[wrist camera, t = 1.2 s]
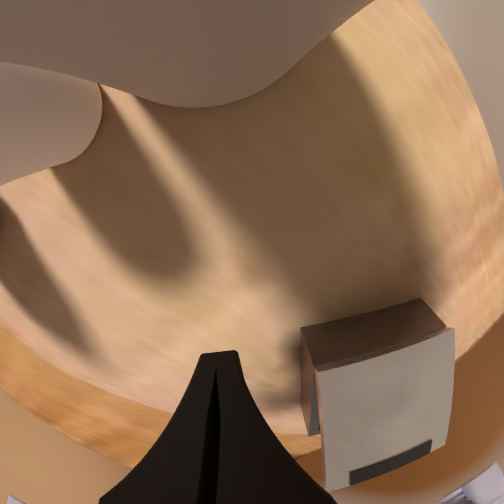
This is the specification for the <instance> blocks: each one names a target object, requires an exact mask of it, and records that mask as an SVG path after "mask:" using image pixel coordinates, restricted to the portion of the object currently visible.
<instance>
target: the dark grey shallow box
mask: <svg viewBox="0 0 504 504" xmlns="http://www.w3.org/2000/svg"><path fill="white" fill-rule="evenodd" d="M444 328H446V325H445V324H444V323H443V322H442V321H441V319H440V318H439V317H438V316H437V315H436V314H435V313H434V312H433V311H432V309H431V308H430V307H429V306H428V305H427V304H426V303H425V302H424V301H423V300H422V299H418V300H415V301H411V302H408V303H404V304H401V305H397V306H393V307H390V308H386V309H382V310H378V311H374V312H370V313H366V314H362V315H358V316H354V317H349V318H345V319H340V320H336V321H331V322H327V323H322V324H317V325H312V326H306V327H301V328H300V329H301V408H302V412H303V416H304V420H305V424H306V428H307V432H308V436H313V435H317V434H321V431H320V419H319V408H318V397H317V387H316V378H315V368H317V367H322V366H326V365H331V364H335V363H339V362H343V361H347V360H351V359H354V358H358V357H362V356H365V355H369V354H372V353H376V352H379V351H382V350H386V349H389V348H392V347H395V346H398V345H401V344H404V343H407V342H410V341H413V340H415V339H418V338H421V337H424V336H426V335H429V334H432V333H434V332H437V331H439V330H442V329H444Z"/></svg>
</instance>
